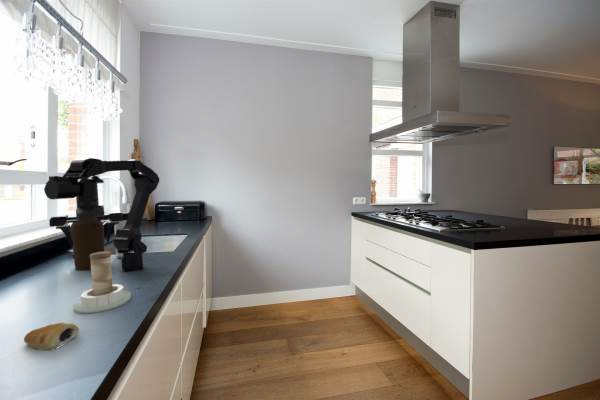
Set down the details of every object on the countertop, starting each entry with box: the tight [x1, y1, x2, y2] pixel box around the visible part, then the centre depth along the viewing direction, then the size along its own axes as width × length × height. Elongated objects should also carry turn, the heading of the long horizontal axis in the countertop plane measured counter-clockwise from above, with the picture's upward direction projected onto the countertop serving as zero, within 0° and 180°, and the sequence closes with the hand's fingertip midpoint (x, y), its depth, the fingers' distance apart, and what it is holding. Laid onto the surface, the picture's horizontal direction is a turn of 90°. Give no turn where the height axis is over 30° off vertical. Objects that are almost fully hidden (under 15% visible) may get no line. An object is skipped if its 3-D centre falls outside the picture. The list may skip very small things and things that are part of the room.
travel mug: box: [113, 212, 129, 259], centre depth 123 cm, size 6×7×20 cm
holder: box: [73, 283, 132, 314], centre depth 77 cm, size 13×13×3 cm
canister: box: [90, 250, 113, 296], centre depth 77 cm, size 5×5×13 cm
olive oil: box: [70, 220, 105, 271], centre depth 110 cm, size 11×11×25 cm
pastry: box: [23, 322, 80, 351], centre depth 59 cm, size 9×7×4 cm
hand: (90, 244), depth 91 cm, fingers open, 9 cm apart
